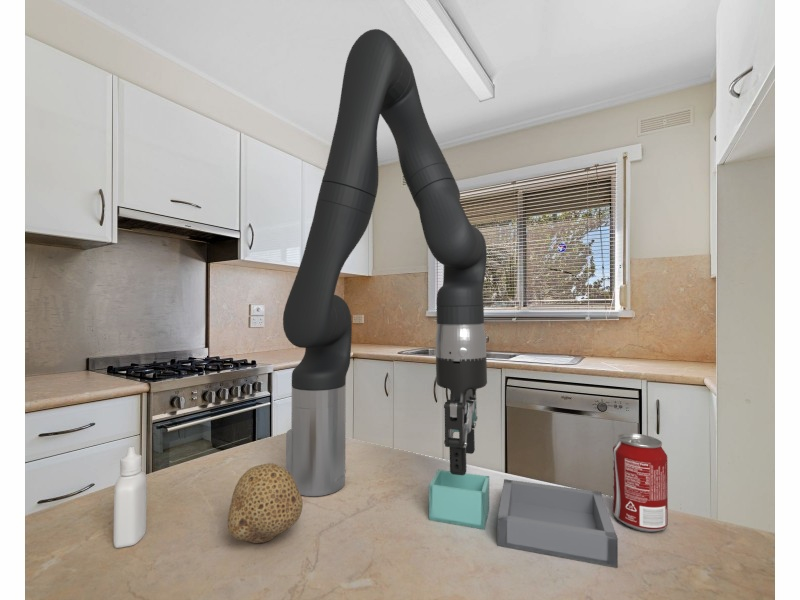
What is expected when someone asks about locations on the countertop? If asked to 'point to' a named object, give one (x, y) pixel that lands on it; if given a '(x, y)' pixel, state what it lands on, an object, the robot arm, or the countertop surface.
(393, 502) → the countertop surface
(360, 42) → the robot arm
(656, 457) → the soda can
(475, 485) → the small crate
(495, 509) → the countertop surface
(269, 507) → the natural sponge
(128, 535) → the eye dropper bottle
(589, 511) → the large crate
